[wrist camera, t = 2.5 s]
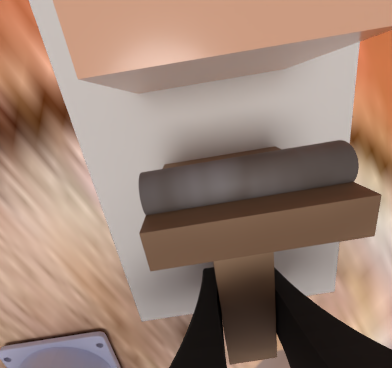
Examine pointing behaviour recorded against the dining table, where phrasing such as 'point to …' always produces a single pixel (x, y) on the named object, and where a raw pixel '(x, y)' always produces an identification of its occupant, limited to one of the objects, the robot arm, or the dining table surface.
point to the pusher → (252, 224)
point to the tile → (207, 37)
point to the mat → (198, 150)
